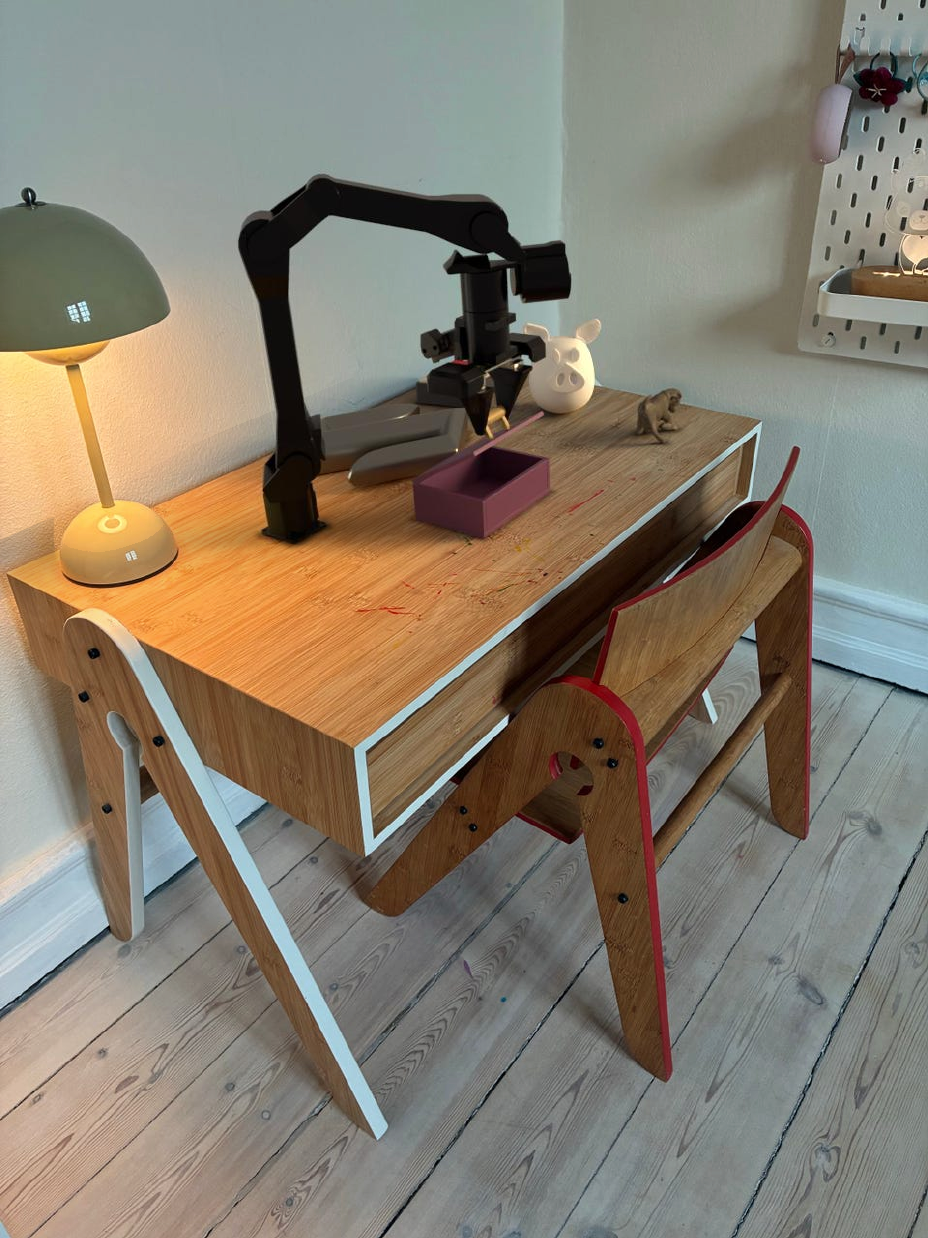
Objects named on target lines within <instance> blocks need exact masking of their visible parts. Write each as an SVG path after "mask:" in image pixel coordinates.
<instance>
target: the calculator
mask: <svg viewBox="0 0 928 1238" xmlns="http://www.w3.org/2000/svg"><path fill="white" fill-rule="evenodd" d="M450 362H451V363H458V364H465V365H468V363H467V360H463V361H458V360H455V359H454V360H452V361H450ZM485 377H486V386H490V387H494V382H493V379H492V378H491V377H490V375H489V374H488V373H486V376H485ZM415 386H416V387H415V389H416V402H417V403H419V404H429V405H434V406H435V405H437V406H444V407H453V408H464V406H463V404H462V402H461V400H460V399H459V398H457V397H451V396H445V395H439V394H434V393H429V392H428V385H427V375H426V376H424V377H422V378H420V379H419V380H418V381H416V382H415ZM494 392H495V390H494Z"/></svg>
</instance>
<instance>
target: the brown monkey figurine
mask: <svg viewBox="0 0 928 1238" xmlns="http://www.w3.org/2000/svg"><path fill="white" fill-rule="evenodd" d="M682 397H683V393H682V391H681V390H679V389H678V388H674V387H673V388H667V389H663V390H661V391H660V392H659V393H658V392H657V394H656V393H655V395H652V394H649V395H647V396H646V397H645V398H644V399H643V401H641V402H640V403H639V404H638V406H637V425H636V426H637V427H636V429H635V435H637V436H638V435H642V434H643V433H644V432H645V433H651V435H652V436H653V437H654V438H655V439H656V440H657V441H659V442H660V443H661V444H666V442H667V441H666V438H664V437H663V436H662V435H661V434H660V433H659V431H658V429H657V427H658V428H659V429H660V430H661V431H676V430H678V429H679V428H678V426H677V420H676V419H675V418H674V416H673V415H672V414H675V413H676V412H677V409H678V406H679V404H680V403H681V401H682ZM660 421H663V422H662V423H660V424H659V425H658V426H657V423H658V422H660Z"/></svg>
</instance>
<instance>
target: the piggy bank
mask: <svg viewBox="0 0 928 1238" xmlns="http://www.w3.org/2000/svg"><path fill="white" fill-rule="evenodd" d="M601 328H602V323H601V321H600V320H599V318H593V319H590V320H587V321H585V322H582V323H580V324H578V325H577V326H576V327H574V330H573V336H572V335H571V336H570V335H556V336H550V333H549V331H548V330H547V328H546V327H544V326H541V325H539V324H534V323H531V322H525V323H524V324H523V325H522V334H529V335H537V336H540V337H541V338H542V340H543V341H544V342H545V343H546V358H544V359H542V360H540V361H538V362H536V363H534V362H531V361H530V365H531V366H533V369H532V371H530V372H529V374H528V389H529V393H530V395H531V398H532V400H533V401H534V402H535V404H536V405H537V406H538V407H540V408H541V409H543V410H544V411H547V412H549V413H553V414H568V413H573V412H575V411H577V410H579V409H581V408H583V407H584V406H585V405H586V404H587V403H588V402H589V401H590V399H591V397H592V395H593V392H594V388H595V369H594V368H595V367H594V364H593V363H594V362H593V359H592V356H591V353H590V350H589V348H588V346H587V345H588V344H590V343H591V342H593V341H594V340H595V339H596V338H597V337H598V336H599V334H600V332H601Z"/></svg>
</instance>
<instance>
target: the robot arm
mask: <svg viewBox="0 0 928 1238" xmlns="http://www.w3.org/2000/svg"><path fill="white" fill-rule="evenodd" d="M331 216H333V217H337V218H343V219H349V220H355V221H359V222H360V221H361V222H366V223H371V224H376V225H383V226H387V227H392V228H400V229H405V230H411V231H416V232H421V233H426V234H429V235H431V236H434V237H437V238H439V239H441V240H443V241H446V242H448V243H450V244H453V245H454V246H457V247H460V248H463V249H466V250H468V251H470V252H474V253H476V254H471V255H463V254H462V253H461V252H460V251H459V250H458V249H454V250H453V252H452V254H451V255H450V257H449V258H448V259H447V260H446V261H445V262H444V263H443V264H442V268H443V270H444V271H445V273H446V274H447V275H449V276H451V275H452V276H453V275H459V280H460V281H459V282H460V295H461V311H462V315H461V316H457V317H455V320H454V323H453V325H454V328H451V329H448V330H446V331H445V330H444V331H442V332H441V331H440V330H439V329H438V328H434V329H431V330H428V331H425V332H423V333H420V337H419V338H420V352H421V354H422V356H423V357H424V358H426V359H427V360H429V359H431V360H432V364H436V363H437V364H438V363H439V362H440V361H441V360H445V359H447V358H451V357H453V359H454V360H458V361H467V363H468V365H465V364H458V363H451V362H452V361H448V362H445V363H443V364H441V365H438V366H437V367H434V368H433V369H431V370H430V371H429V373H428V374H427V375H426V376H427V385H428V392H429V393H434V394H439V395H445V396H451V397H457V398H459V399H460V400H461V402H462V404H463V406H464V408H465V410H466V412H467V418H468V419H469V422H470V424H471V426H472V428H473V430H474V433H475V435H476V436H479V437H483V436H485V431H486V427H487V423H488V418H489V412H490V410H491V407H492V402H493V397H494V396H495V397H494V398H495V407H497V406H498V405H502V406H503V407H504V408H505V409H506V415H505V417H506V419H507V421H508V422H509V419H510V416H511V415H512V412H513V409H514V407H515V405H516V402H517V400H518V398H519V395H520V393H521V391H522V389H523V387H524V385H525V383H526V380H527V378H528V377H529V373H530V371H532V369H533V366H531V364H525V363H524V362H525V361H524V359H523V356H528V357H527V358H528V359H529V361H530V363H531V362H534V363H536V362H538V361H540V360H542V359H544V358H546V343H545V342H544V341H543V340H542V338H541V337H540V336H537V335H529V334H524V333H521V332H520V333H519V332H511V331H510V325H511V324H514V323H515V322H517V313H516V312H510V310H509V309H510V307H509V285H508V284H509V283H510V290H511V294H512V296H513V297H518V296H519V298H520V301H521V303H522V304H533V303H541V302H550V301H551V302H552V301H559V300H560V301H561V300H569V298H570V295H571V291H572V273H571V272H570V266H569V260H568V256H567V253H566V252H567V251H566V249H567V247H566V243H565V242H564V241H563V240H561V239H557V240H549V241H547V242H544V243H536V244H534V243H533V244H525V245H524V244H523V245H522V244H521V242H520V241H519V240H518V239H517V238H516V237H515V236H513V235H512V234H511V233H510V232H509V226H510V224H509V219H508V216H507V214H506V212H505V210H504V209H503V207H501V206H500V205H499V204H498V203H497V202H495V200H493V199H492V198H491V197H489V196H487V195H485V194H482V193H452V194H441V195H426V194H422V193H416V192H410V191H405V190H400V189H394V188H388V187H383V186H379V185H373V184H369V183H362V182H357V181H351V180H346V179H342V178H341V179H340V178H335V177H333V176H331V175H329V174H328V173H327V174H326V173H317V174H314V175H313V176H311V177H310V178H309V179H308V180H307V182H306V183H305V184H303V185H302V186H301V187H300V188H299V189H296V191H294V192H293V193H291V194H289V195H288V196H286V197H285V198H284V199H282V200H281V201H279V202H278V203H277V204H276V205H275V206H273V207H272V208H271V209H270V210H261V209H260V210H257V211H253V212H252V213H250V214H249V215H247V216H246V218H245V219H244V220H243V222H242V223H241V227H240V231H239V234H238V239H237V249H238V254H239V256H240V259H241V262H242V265H243V267H244V271H245V274H246V276H247V279H248V282H249V283H250V286H251V289H252V291H253V293H254V295H255V298H256V301H257V304H258V310H259V315H260V323H261V328H262V329H261V330H262V335H263V341H264V346H265V354H266V358H267V365H268V370H269V377H270V384H271V390H272V395H273V401H274V408H275V413H276V415H275V416H276V417H275V418H276V419H275V450H274V452H273V453H271V455H270V456H269V457H268V458H267V460H266V461H265V463H264V464H263V473H262V475H263V476H262V488H261V489H262V494H261V495H262V500H263V505H264V512H265V518H266V522H267V523H266V524H267V526H266V527H263V528H262V529H260V533H261V535H264V536H266V537H269V538H272V539H275V540H279V541H281V542H285V543H288V544H291V545H297V544H299V543H300V542H302V541H304V540H306V539H308V538H309V537H311V536H312V535H314V534H316V533H318V532H319V531H321V530H323V529H325V528H326V527H328V524H327V523H328V522H326V521H325V520H324V521H323V520H321V519H319V518H320V513H319V507H318V501H317V499H318V498H317V493H316V490H315V489H314V485H313V481H315V480H316V479H317V477H318V476H320V475H319V473H320V470H321V460H323V461H325V460H326V455H325V443H324V439H323V438H322V436H321V432H322V430H321V414H320V413H317V414H314V415H310V412H309V410H308V408H307V406H306V403H305V396H304V391H303V389H304V388H303V382H302V376H301V370H300V362H299V356H298V348H297V343H296V337H295V328H294V323H293V322H294V321H293V316H292V315H293V314H292V308H291V301H290V295H289V293H290V291H289V290H290V259H291V258H290V256H291V255H290V254H291V249H292V248H293V247H295V246H296V245H298V243H300V241H302V240H303V239H304V238H306V236H307V235H309V234H310V233H311V232H312V230H314V229H315V228H316V227H317V226H318V225H320V224H321V223H322V222H323V221H324V220H325V219H327V218H328V217H331ZM492 253H493V254H495V255H497V256H499V257H500V258H502V259H490V258H489V255H490V254H492ZM488 254H489V255H488ZM508 269H509V283H508ZM486 373H488V374H489V375H490V377H491V378H492V379H493V382H494V387H490V386H486V377H485V376H486ZM494 390H495V391H494Z"/></svg>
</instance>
